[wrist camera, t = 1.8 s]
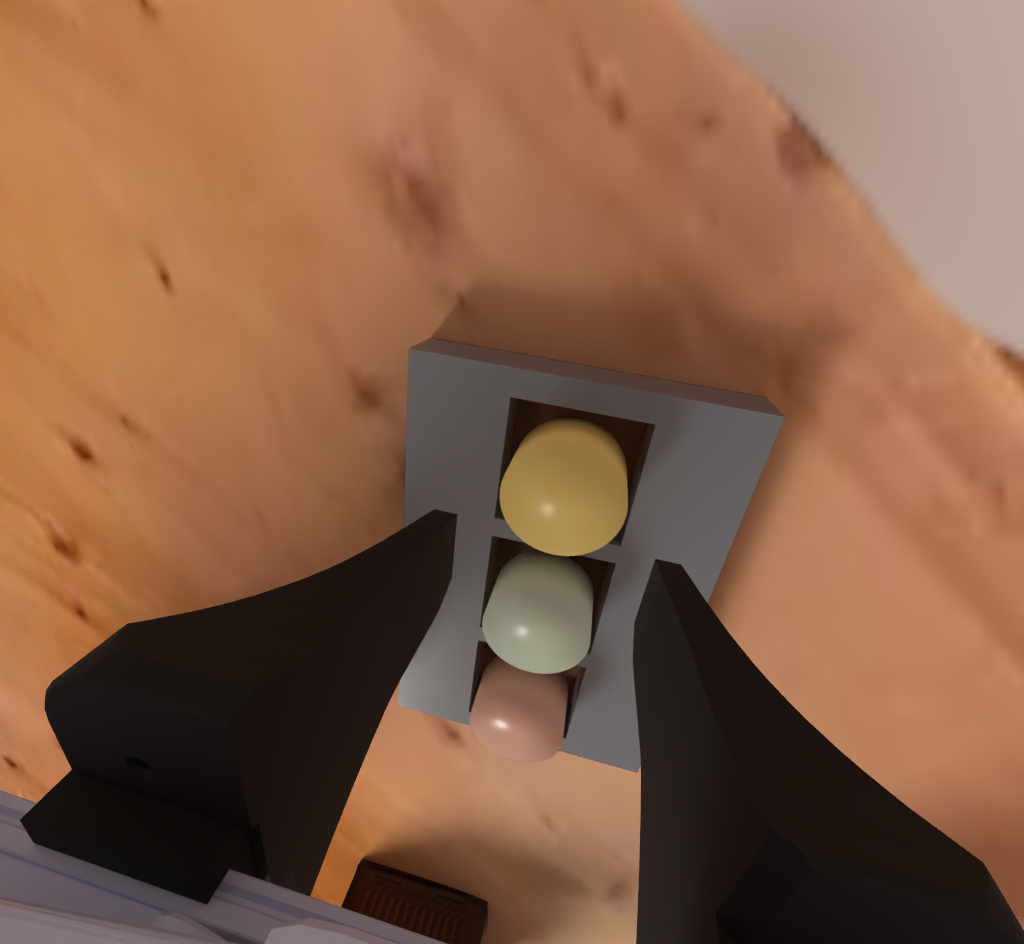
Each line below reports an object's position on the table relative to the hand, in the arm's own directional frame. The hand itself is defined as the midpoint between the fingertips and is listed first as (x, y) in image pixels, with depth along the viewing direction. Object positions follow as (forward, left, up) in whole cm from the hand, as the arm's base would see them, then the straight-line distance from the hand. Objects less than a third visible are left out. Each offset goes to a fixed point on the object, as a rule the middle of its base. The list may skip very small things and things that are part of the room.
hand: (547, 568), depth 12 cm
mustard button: (0, 0, -6) cm, 6 cm away
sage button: (0, -6, -6) cm, 8 cm away
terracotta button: (0, -11, -6) cm, 13 cm away
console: (0, -6, -7) cm, 9 cm away
